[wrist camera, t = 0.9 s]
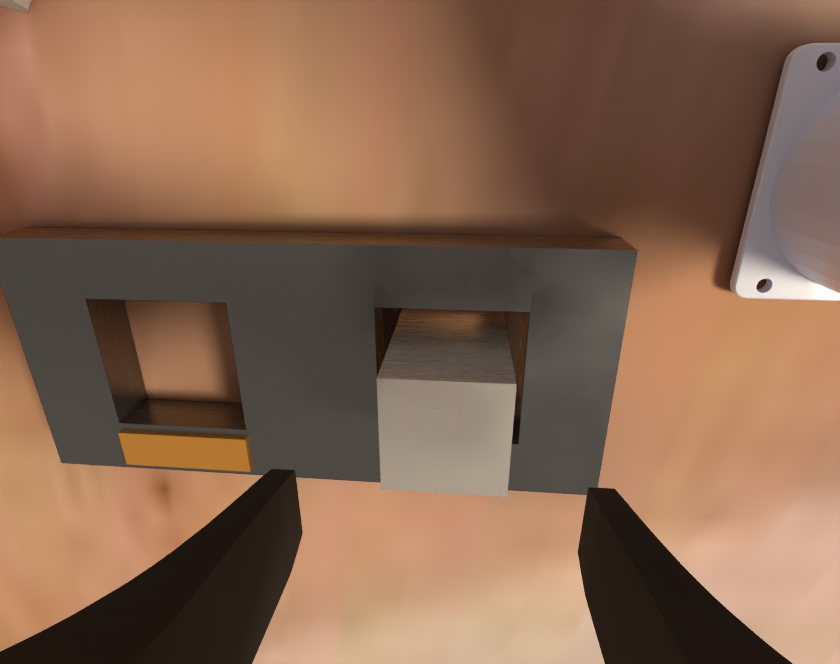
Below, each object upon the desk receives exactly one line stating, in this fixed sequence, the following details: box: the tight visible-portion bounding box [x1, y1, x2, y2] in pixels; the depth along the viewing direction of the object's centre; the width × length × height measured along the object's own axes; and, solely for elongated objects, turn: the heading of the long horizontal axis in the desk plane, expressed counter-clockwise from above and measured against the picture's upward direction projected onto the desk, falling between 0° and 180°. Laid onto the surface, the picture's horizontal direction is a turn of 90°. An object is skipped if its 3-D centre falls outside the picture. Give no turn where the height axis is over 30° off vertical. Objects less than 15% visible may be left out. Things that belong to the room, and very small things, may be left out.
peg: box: [377, 308, 517, 497], centre depth 18 cm, size 4×4×6 cm
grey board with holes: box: [0, 227, 638, 495], centre depth 20 cm, size 23×10×2 cm, turn 90°
